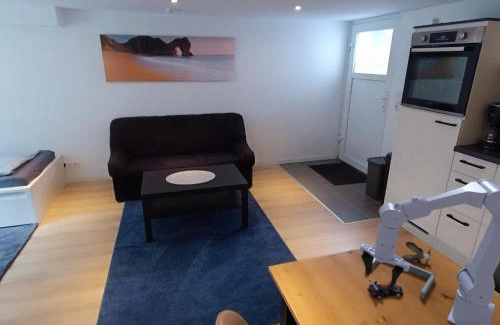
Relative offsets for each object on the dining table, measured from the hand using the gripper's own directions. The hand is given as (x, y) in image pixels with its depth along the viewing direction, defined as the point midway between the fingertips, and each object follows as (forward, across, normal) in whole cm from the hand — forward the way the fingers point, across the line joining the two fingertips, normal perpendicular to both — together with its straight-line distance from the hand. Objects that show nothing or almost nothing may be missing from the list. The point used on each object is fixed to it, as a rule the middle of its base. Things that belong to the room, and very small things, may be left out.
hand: (380, 279), depth 96 cm
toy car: (+10, 0, +8) cm, 13 cm away
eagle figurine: (+10, +1, +34) cm, 36 cm away
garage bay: (+10, 0, +19) cm, 22 cm away
